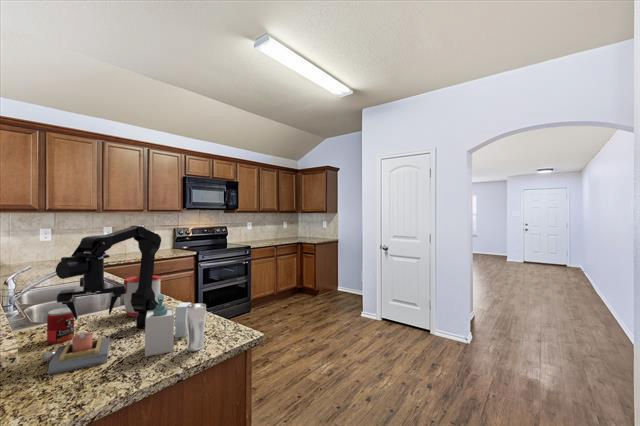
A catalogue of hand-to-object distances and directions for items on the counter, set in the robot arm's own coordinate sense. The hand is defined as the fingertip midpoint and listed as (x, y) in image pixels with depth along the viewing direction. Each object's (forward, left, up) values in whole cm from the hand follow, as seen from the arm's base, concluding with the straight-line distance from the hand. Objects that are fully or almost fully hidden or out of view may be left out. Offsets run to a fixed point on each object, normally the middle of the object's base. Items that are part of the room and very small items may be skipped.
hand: (93, 316), depth 102 cm
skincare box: (-29, +1, -12) cm, 31 cm away
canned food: (+11, -17, -12) cm, 23 cm away
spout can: (+2, +6, -11) cm, 13 cm away
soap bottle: (-20, +11, -12) cm, 26 cm away
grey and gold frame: (+4, +6, -12) cm, 14 cm away
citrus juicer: (-15, -36, -12) cm, 41 cm away
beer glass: (-31, +16, -12) cm, 37 cm away
